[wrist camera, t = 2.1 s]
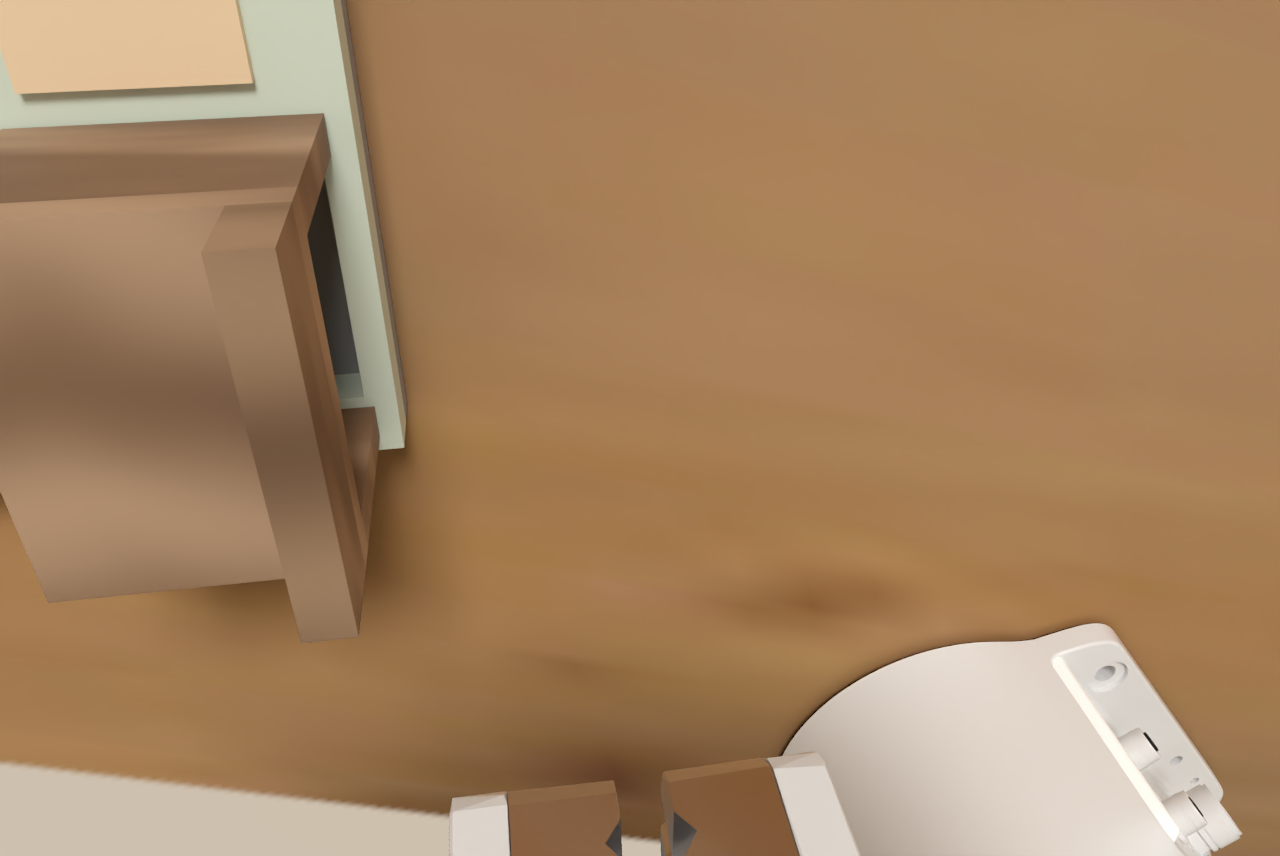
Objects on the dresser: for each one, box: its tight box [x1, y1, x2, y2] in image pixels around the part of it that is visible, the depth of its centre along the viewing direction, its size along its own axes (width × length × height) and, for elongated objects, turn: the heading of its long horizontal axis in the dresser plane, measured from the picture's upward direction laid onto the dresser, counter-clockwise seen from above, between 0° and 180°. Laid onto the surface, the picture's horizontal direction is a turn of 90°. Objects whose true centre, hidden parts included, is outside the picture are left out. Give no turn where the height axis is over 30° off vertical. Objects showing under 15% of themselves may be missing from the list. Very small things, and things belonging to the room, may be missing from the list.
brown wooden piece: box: [0, 113, 380, 643], centre depth 23 cm, size 9×7×8 cm
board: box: [0, 0, 407, 450], centre depth 25 cm, size 16×15×3 cm
